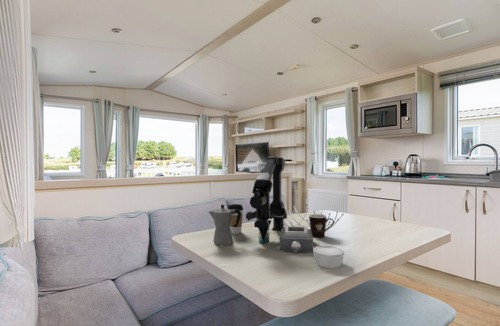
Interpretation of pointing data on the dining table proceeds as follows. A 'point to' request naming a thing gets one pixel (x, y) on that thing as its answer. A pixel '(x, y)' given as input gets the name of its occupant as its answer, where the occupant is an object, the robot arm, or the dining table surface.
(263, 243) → the metal can
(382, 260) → the dining table surface
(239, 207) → the coffee cup
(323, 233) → the coffee mug
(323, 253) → the ramekin
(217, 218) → the coffeepot
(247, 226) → the dining table surface
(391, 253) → the dining table surface
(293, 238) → the grey hollow block
